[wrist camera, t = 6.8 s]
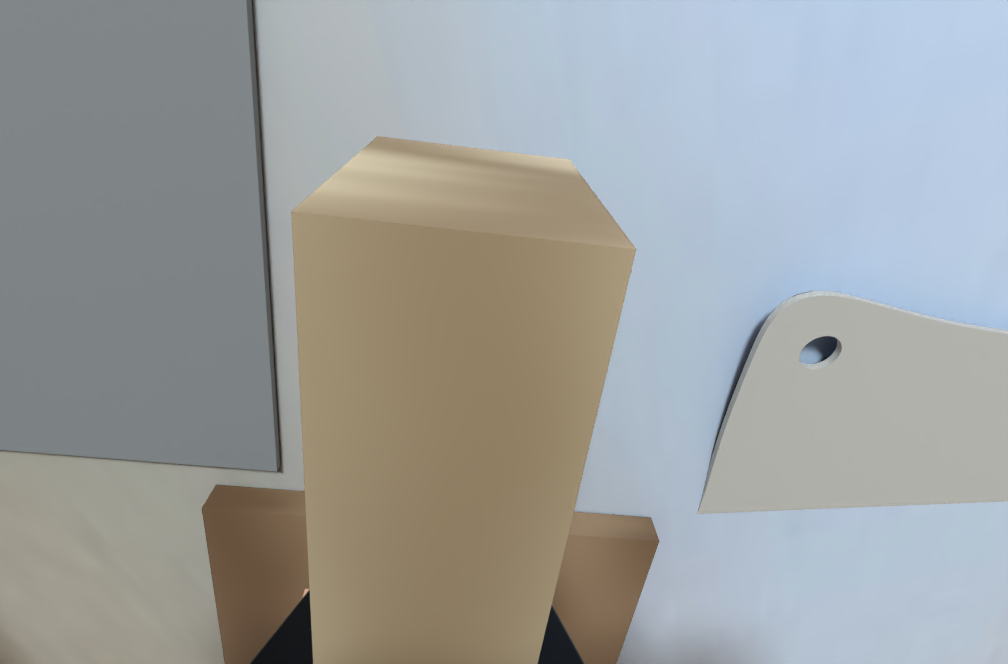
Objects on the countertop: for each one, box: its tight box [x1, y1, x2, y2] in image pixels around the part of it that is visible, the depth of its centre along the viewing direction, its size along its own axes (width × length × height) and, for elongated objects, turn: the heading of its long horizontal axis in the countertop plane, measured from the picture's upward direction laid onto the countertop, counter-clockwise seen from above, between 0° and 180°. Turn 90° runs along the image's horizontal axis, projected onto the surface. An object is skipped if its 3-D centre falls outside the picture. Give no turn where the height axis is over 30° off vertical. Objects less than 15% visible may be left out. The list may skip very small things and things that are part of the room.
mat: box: [0, 0, 280, 472], centre depth 13 cm, size 10×17×1 cm, turn 173°
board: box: [202, 485, 659, 664], centre depth 21 cm, size 14×14×1 cm
